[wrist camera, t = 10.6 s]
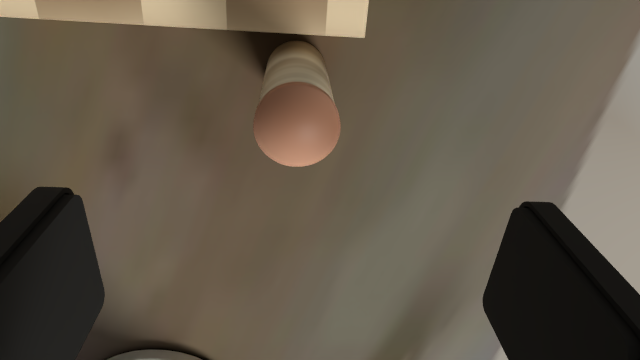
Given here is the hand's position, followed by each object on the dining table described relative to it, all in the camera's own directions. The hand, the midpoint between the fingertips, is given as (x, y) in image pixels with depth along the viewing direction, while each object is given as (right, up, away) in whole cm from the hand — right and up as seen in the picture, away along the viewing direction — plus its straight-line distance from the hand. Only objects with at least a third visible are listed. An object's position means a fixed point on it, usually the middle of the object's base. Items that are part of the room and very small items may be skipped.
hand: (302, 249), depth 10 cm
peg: (-1, +7, +14) cm, 16 cm away
